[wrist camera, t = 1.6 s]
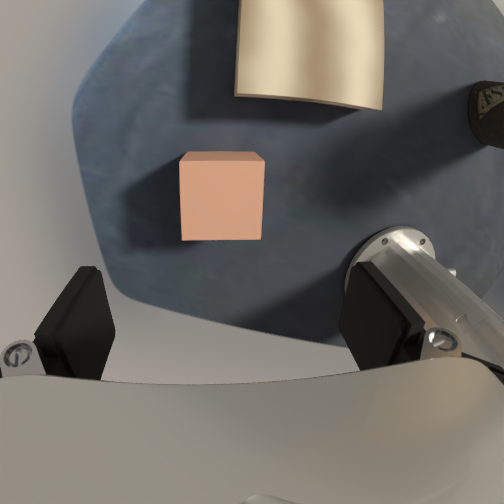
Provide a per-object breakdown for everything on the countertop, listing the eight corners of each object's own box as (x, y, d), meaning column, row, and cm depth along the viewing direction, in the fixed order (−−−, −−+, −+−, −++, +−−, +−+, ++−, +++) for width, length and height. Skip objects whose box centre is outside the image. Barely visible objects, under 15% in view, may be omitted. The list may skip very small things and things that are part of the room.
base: (363, 2, 20) (382, -10, 16) (361, 109, 25) (381, 110, 22) (240, -19, 19) (244, -37, 15) (234, 96, 24) (237, 93, 20)
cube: (254, 151, 26) (264, 161, 21) (251, 214, 29) (260, 239, 23) (187, 151, 26) (179, 161, 20) (188, 215, 28) (182, 240, 23)
